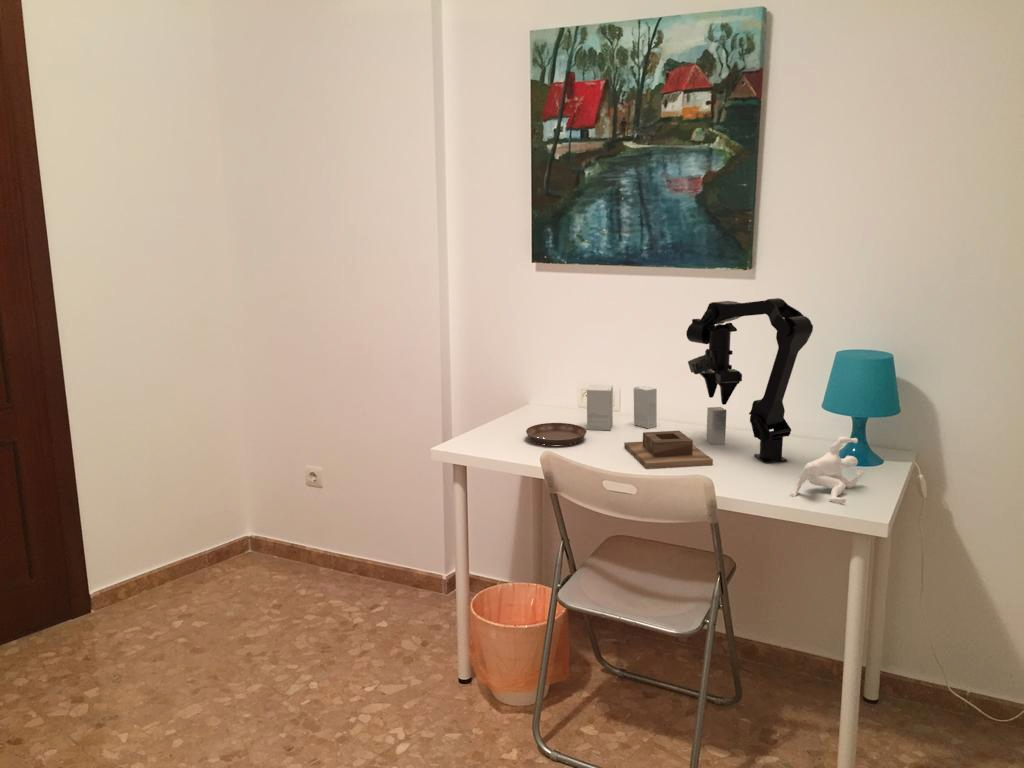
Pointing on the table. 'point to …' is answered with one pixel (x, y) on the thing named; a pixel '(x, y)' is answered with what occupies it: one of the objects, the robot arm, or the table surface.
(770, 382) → the robot arm
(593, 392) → the supplement box
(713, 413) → the steel peg
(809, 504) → the table surface
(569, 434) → the plant saucer
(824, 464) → the person figurine
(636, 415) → the skincare box
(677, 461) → the socket block
